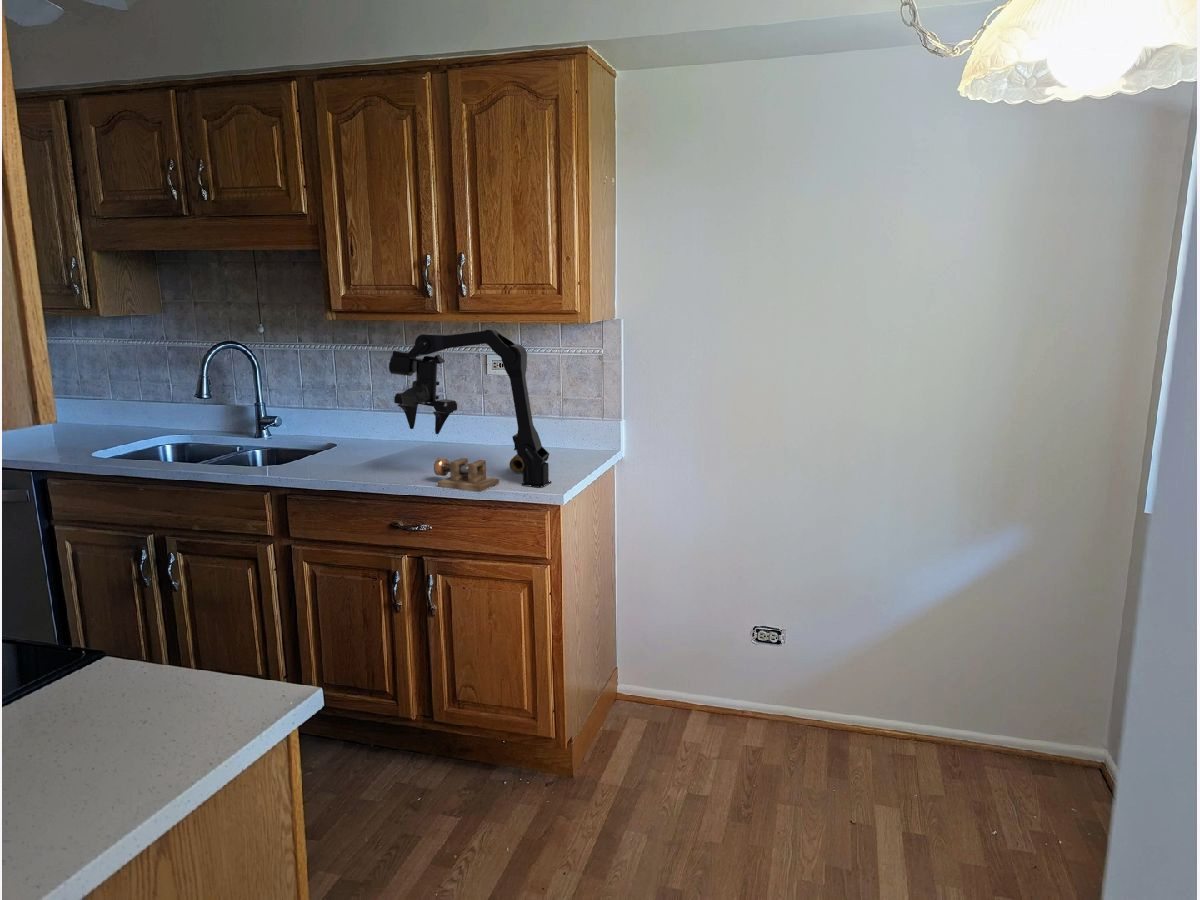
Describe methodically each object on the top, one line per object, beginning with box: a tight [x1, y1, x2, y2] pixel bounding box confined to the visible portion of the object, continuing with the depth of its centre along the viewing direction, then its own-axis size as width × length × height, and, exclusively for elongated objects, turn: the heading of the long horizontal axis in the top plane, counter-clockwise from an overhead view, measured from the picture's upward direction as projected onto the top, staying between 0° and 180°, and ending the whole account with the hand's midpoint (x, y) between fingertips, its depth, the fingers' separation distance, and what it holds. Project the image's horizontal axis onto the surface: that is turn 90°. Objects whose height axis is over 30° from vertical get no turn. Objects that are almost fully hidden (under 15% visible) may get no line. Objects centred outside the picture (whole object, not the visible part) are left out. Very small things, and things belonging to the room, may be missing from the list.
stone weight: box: [509, 453, 524, 473], centre depth 263 cm, size 15×7×7 cm, turn 164°
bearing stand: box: [437, 457, 500, 493], centre depth 242 cm, size 14×10×7 cm
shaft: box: [433, 457, 478, 477], centre depth 244 cm, size 12×5×5 cm, turn 65°
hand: (424, 431), depth 247 cm, fingers open, 9 cm apart
